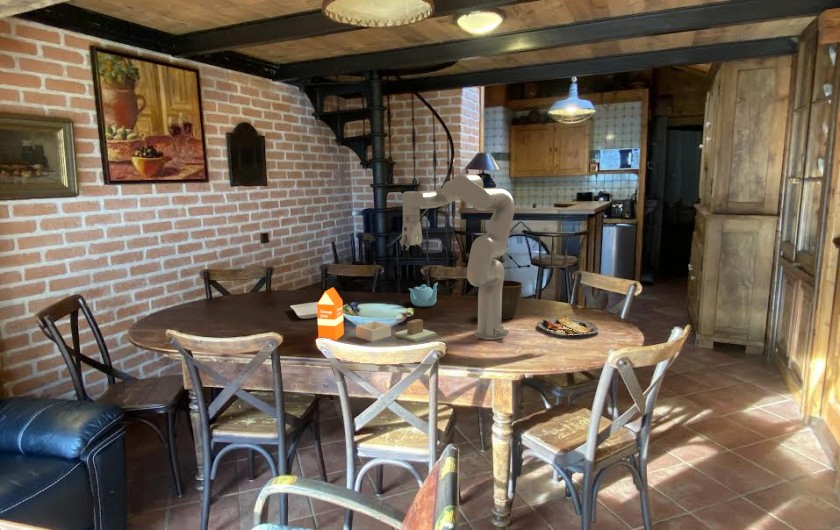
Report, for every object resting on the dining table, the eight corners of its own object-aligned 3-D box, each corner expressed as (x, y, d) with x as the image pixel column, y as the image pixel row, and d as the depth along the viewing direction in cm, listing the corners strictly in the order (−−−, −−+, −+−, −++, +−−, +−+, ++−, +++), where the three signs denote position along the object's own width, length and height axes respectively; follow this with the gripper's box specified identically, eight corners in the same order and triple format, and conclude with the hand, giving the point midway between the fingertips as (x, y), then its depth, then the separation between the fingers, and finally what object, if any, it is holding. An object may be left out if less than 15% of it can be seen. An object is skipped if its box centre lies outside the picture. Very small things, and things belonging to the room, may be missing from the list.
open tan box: (391, 337, 213) (390, 325, 212) (372, 342, 206) (372, 330, 205) (375, 332, 220) (374, 320, 219) (356, 337, 213) (356, 325, 212)
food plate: (527, 324, 228) (527, 317, 228) (571, 320, 237) (572, 312, 236) (561, 343, 205) (562, 334, 205) (609, 336, 214) (609, 328, 213)
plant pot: (495, 322, 233) (496, 287, 230) (484, 314, 247) (485, 281, 245) (526, 320, 236) (527, 285, 233) (514, 312, 250) (515, 279, 248)
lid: (435, 334, 214) (435, 320, 213) (415, 341, 206) (415, 326, 205) (415, 329, 223) (415, 315, 222) (394, 335, 214) (394, 321, 213)
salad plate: (298, 322, 238) (297, 314, 237) (289, 311, 257) (289, 304, 256) (343, 316, 246) (343, 309, 246) (331, 306, 266) (331, 300, 265)
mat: (439, 335, 214) (439, 334, 214) (415, 343, 204) (415, 342, 204) (415, 329, 224) (415, 328, 224) (391, 336, 214) (391, 335, 214)
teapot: (411, 300, 275) (411, 281, 274) (439, 301, 274) (439, 282, 272) (408, 307, 261) (407, 287, 259) (438, 308, 260) (438, 288, 258)
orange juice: (344, 333, 218) (342, 287, 215) (336, 340, 210) (334, 291, 206) (326, 332, 220) (324, 286, 217) (318, 339, 211) (315, 291, 208)
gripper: (407, 221, 223) (408, 260, 226) (428, 218, 238) (428, 255, 241) (393, 220, 227) (394, 259, 230) (414, 217, 242) (415, 254, 245)
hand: (411, 257), depth 235 cm, fingers open, 9 cm apart
